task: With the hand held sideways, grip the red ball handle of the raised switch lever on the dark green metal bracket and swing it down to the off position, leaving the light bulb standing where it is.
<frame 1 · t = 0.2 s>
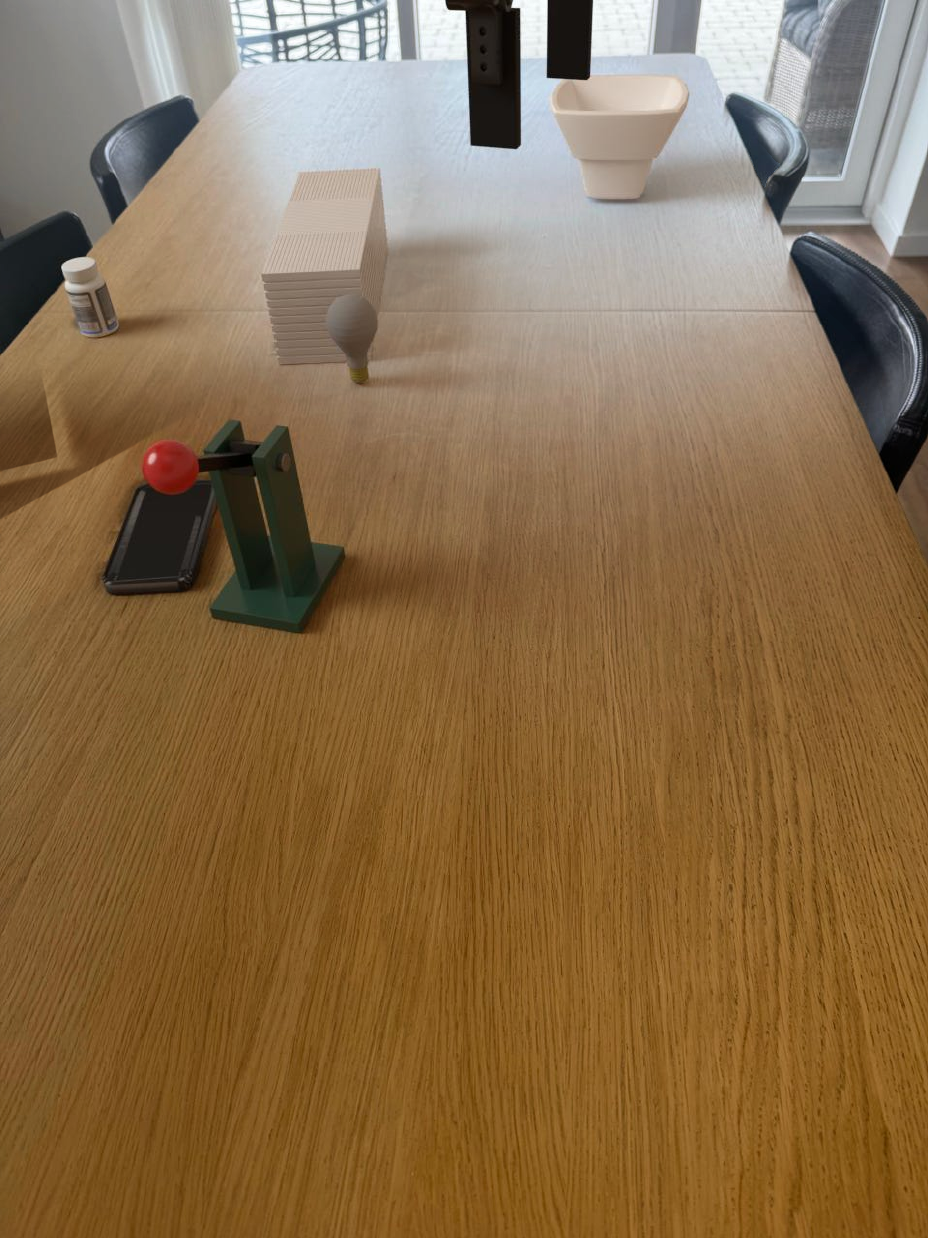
hand: (534, 109, 58), 36 cm above the table, tool pointing down, fingers open, 13 cm apart
switch bracket: (281, 586, 82), on the table
beige tall block: (339, 302, 123), on the table
pill bottle: (100, 331, 120), on the table
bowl: (613, 195, 145), on the table
light bulb: (360, 384, 107), on the table
phone: (166, 540, 88), on the table
switch lever: (212, 462, 68), point 16 cm above the table, hinge at 30.0°
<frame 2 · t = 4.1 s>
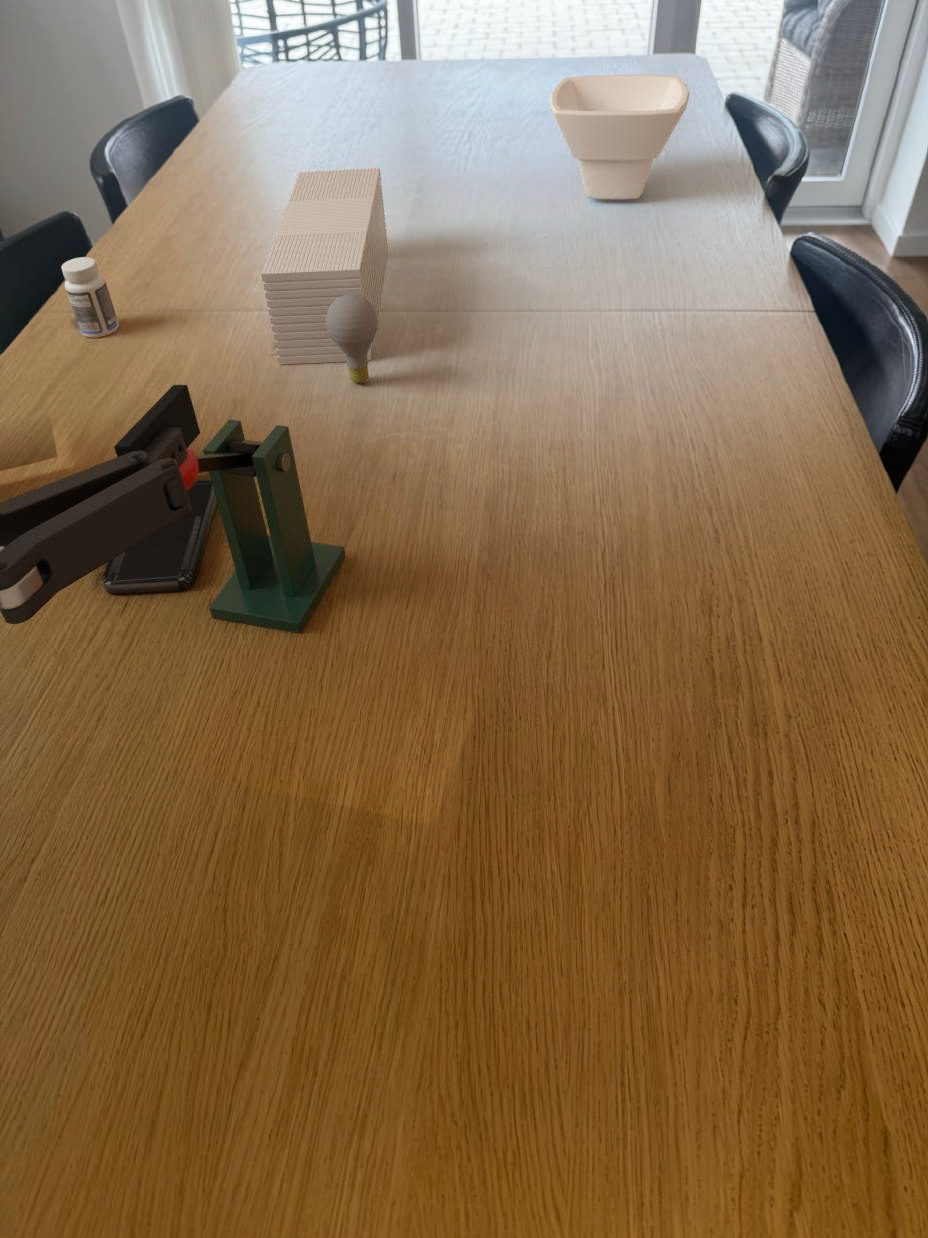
hand: (70, 407, 51), 28 cm above the table, tool horizontal, fingers open, 13 cm apart
nothing on the table moved.
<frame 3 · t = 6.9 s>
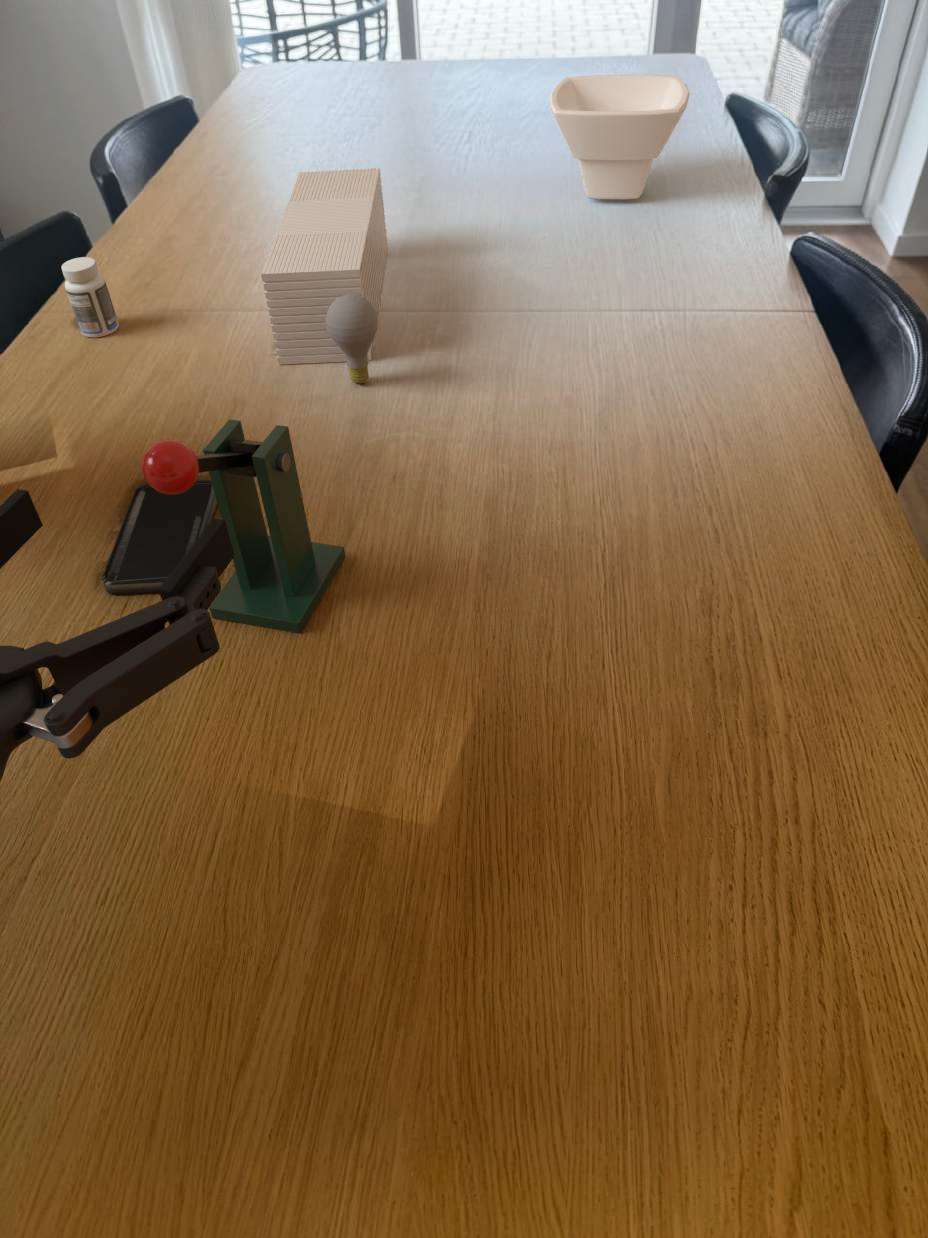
hand: (125, 521, 59), 18 cm above the table, tool horizontal, fingers open, 13 cm apart
nothing on the table moved.
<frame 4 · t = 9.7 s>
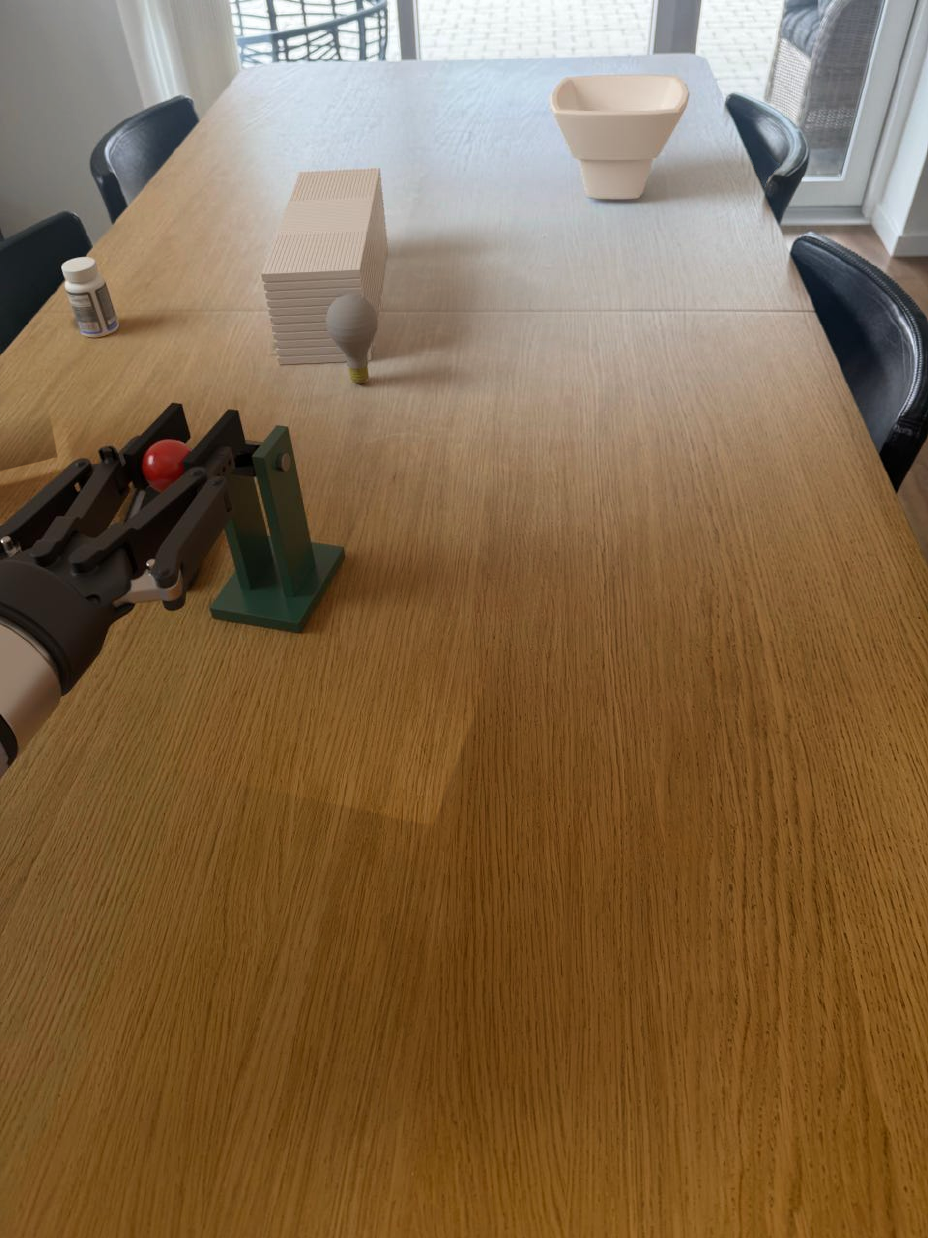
hand: (208, 423, 67), 18 cm above the table, tool horizontal, fingers closed on switch lever, 4 cm apart
switch lever: (212, 462, 68), point 16 cm above the table, hinge at 30.0°, touching gripper
everything else where it was.
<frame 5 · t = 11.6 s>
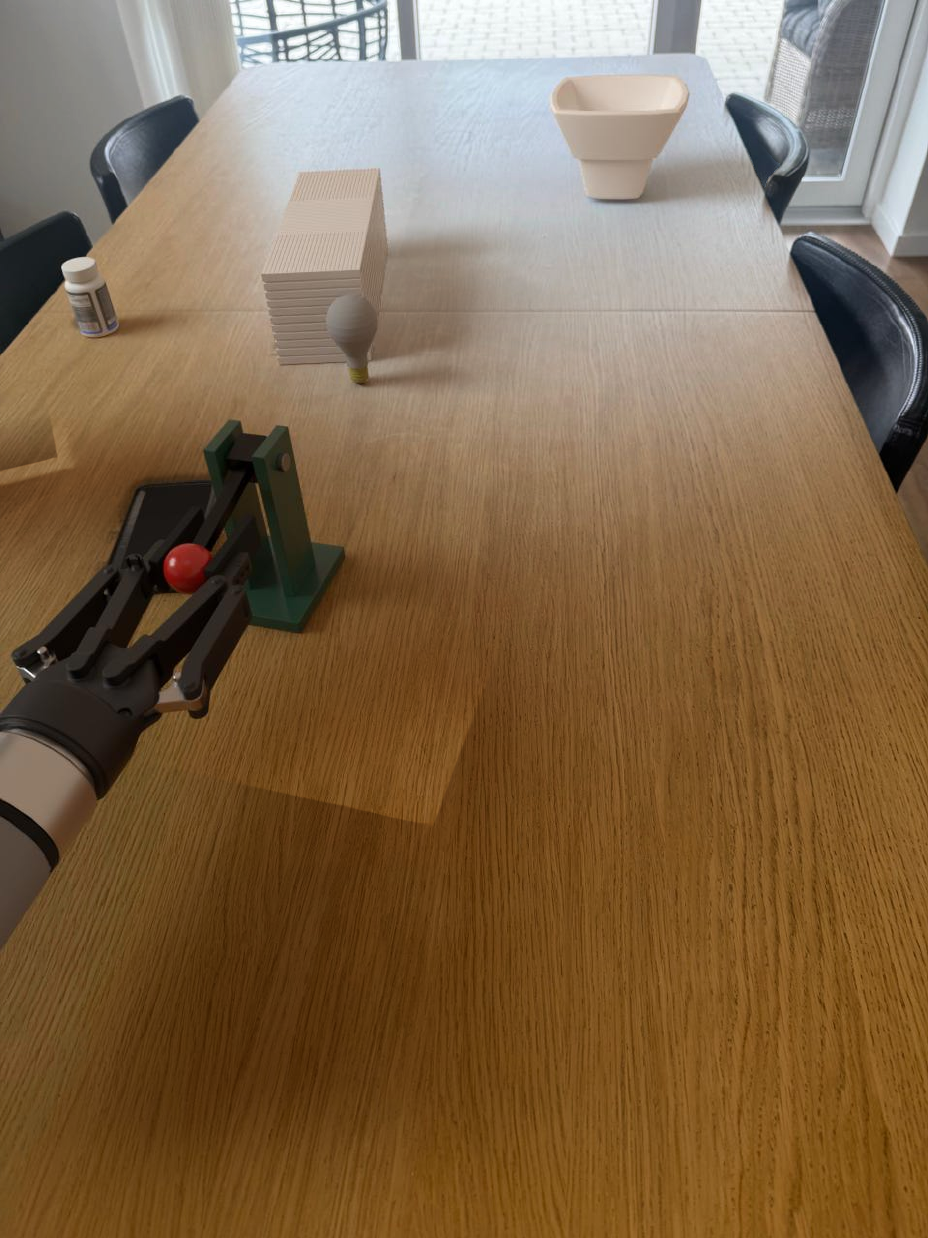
hand: (227, 525, 72), 10 cm above the table, tool horizontal, fingers closed on switch lever, 4 cm apart
switch lever: (220, 513, 70), point 12 cm above the table, hinge at -11.4°, touching gripper
everything else where it was.
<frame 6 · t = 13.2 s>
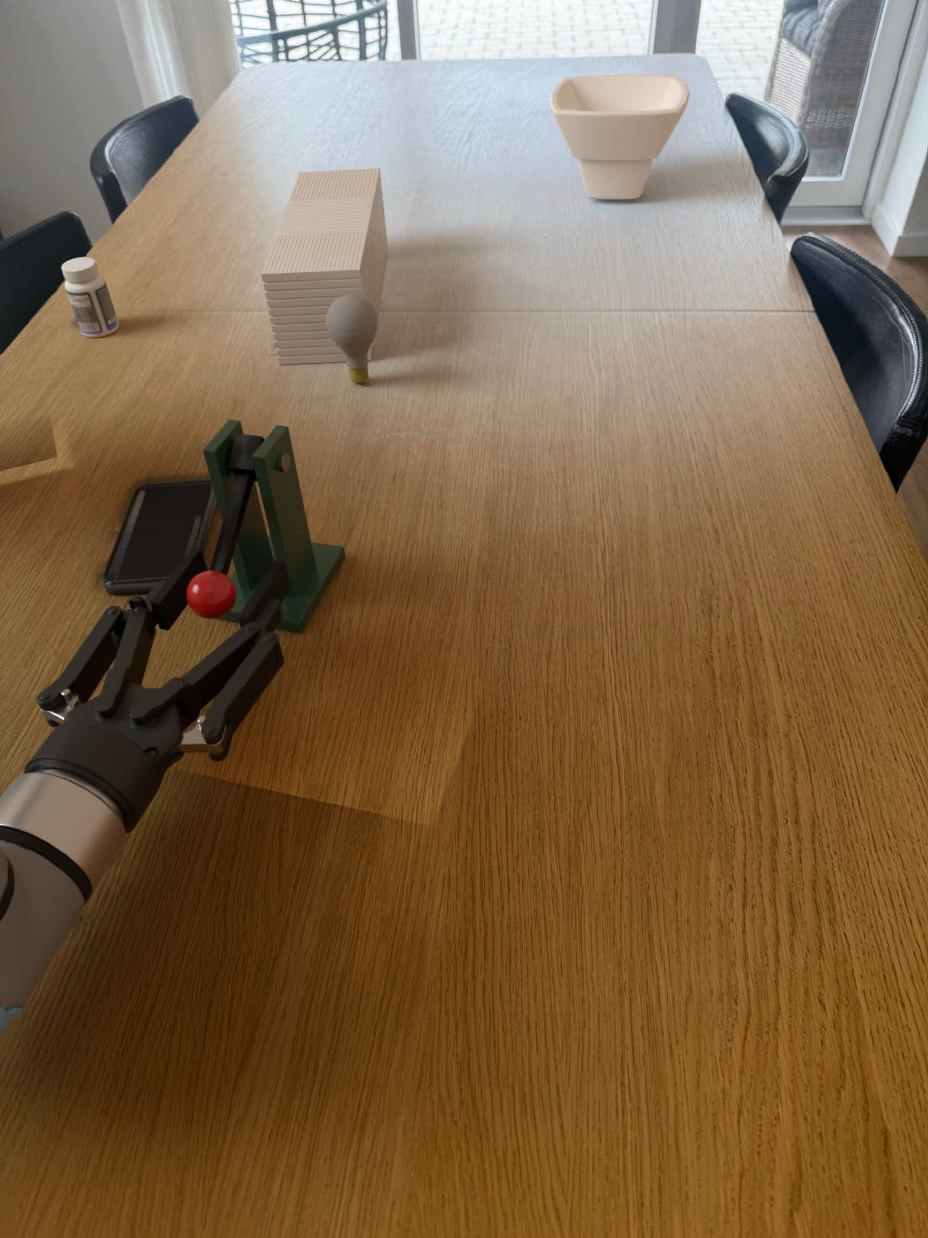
hand: (241, 568, 75), 6 cm above the table, tool horizontal, fingers open, 6 cm apart
switch lever: (230, 527, 72), point 10 cm above the table, hinge at -32.1°
everything else where it was.
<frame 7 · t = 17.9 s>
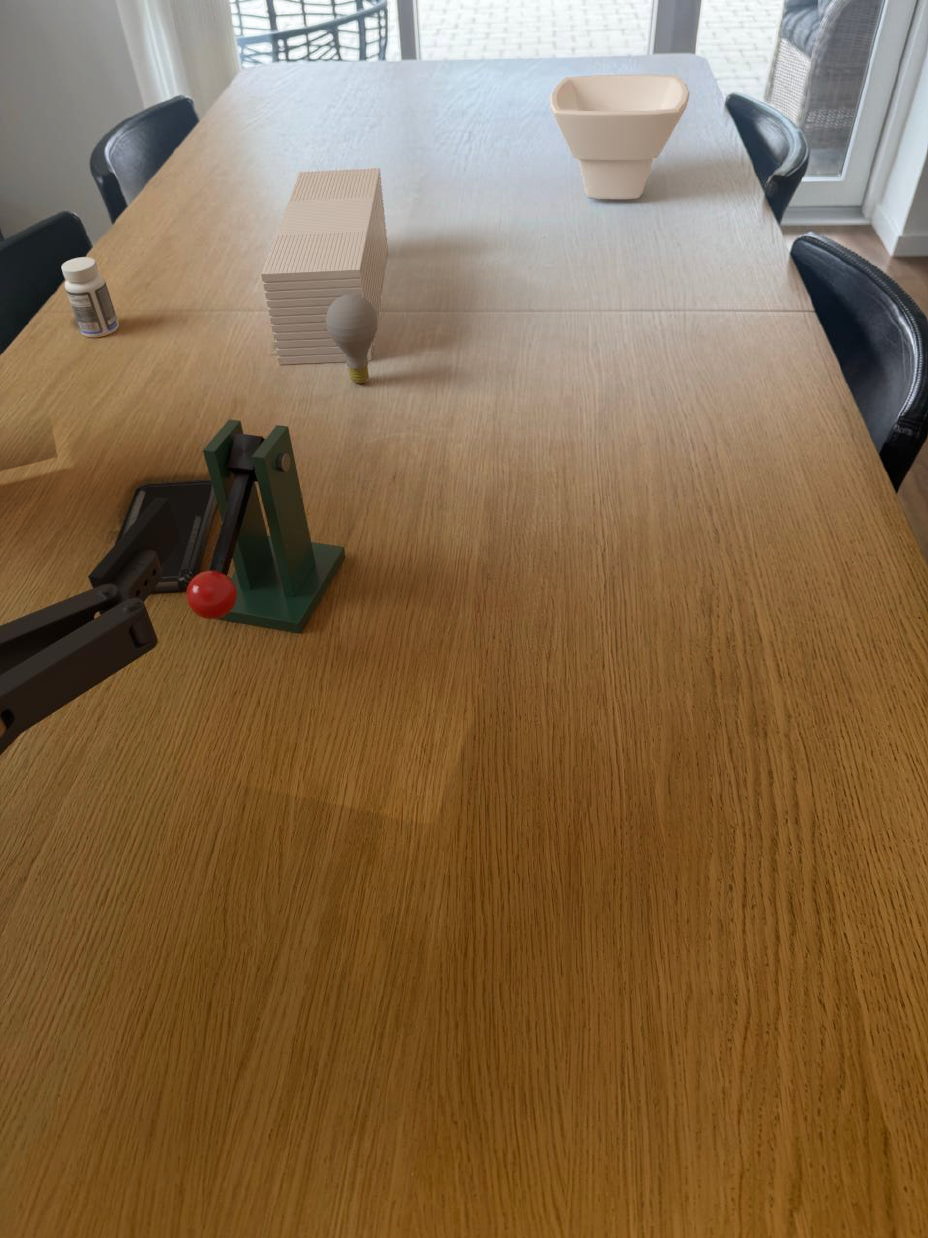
hand: (59, 501, 53), 23 cm above the table, tool horizontal, fingers open, 13 cm apart
nothing on the table moved.
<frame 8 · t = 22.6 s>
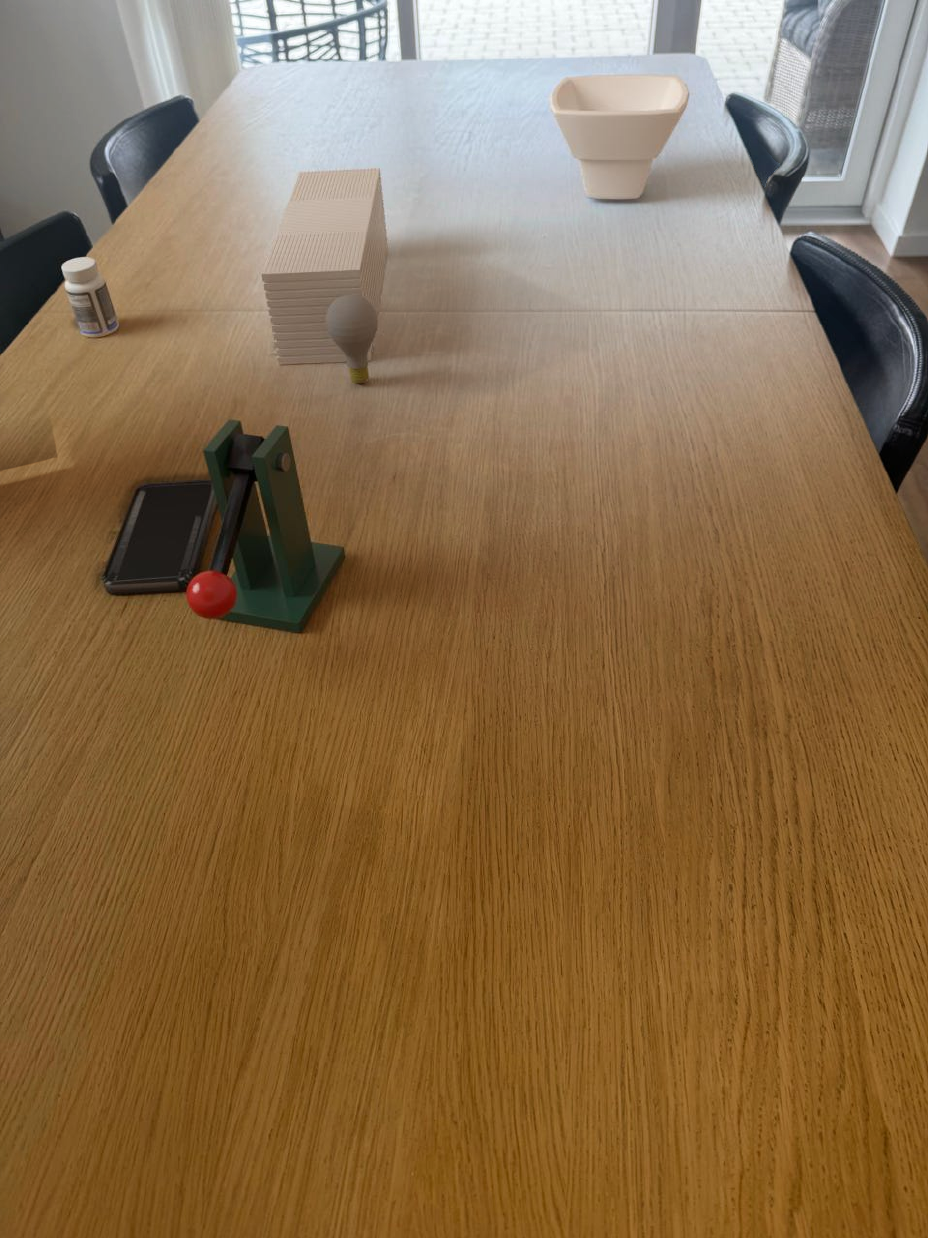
nothing on the table moved.
at the end: switch lever at -32° (first picture: +30°); light bulb moved 0.2 cm from its start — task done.
